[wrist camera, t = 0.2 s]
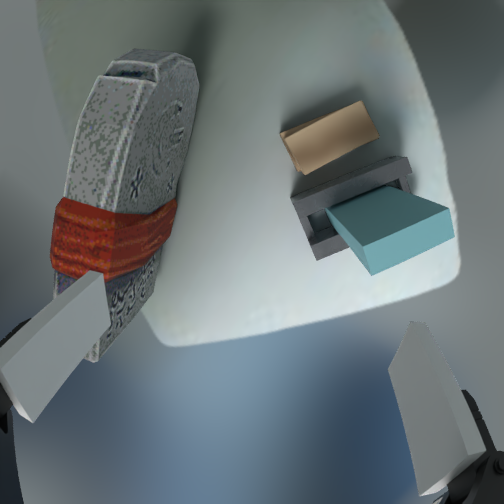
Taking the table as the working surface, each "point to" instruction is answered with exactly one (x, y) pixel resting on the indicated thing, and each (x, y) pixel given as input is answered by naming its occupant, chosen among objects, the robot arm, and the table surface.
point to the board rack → (341, 190)
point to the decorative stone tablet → (124, 181)
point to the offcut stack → (329, 137)
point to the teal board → (389, 226)
